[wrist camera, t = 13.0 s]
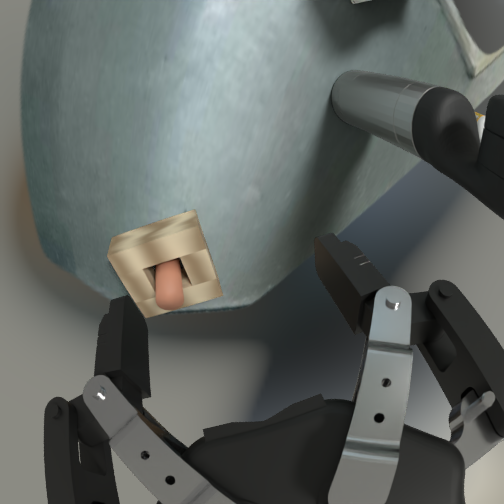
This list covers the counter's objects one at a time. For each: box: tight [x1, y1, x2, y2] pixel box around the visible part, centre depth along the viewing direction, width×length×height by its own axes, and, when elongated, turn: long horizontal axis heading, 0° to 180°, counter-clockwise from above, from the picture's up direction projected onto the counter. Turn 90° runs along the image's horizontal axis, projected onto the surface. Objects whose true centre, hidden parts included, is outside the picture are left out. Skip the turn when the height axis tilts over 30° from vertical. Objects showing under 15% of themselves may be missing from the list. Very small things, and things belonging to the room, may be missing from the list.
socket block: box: [107, 210, 223, 318], centre depth 44 cm, size 14×14×5 cm
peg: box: [156, 257, 184, 310], centre depth 42 cm, size 4×4×10 cm
